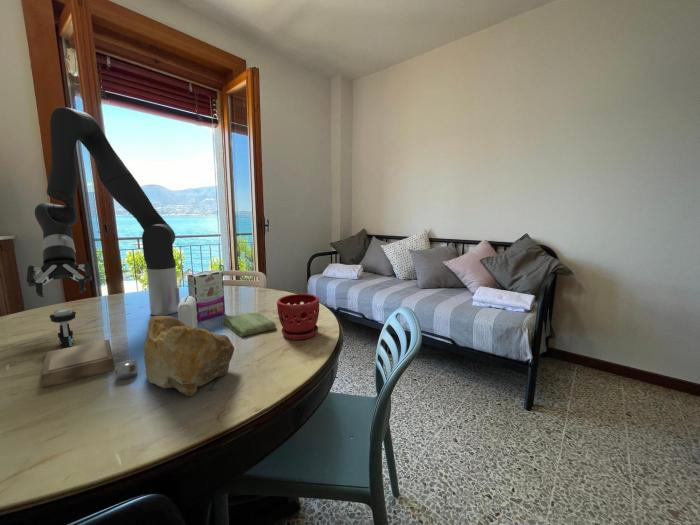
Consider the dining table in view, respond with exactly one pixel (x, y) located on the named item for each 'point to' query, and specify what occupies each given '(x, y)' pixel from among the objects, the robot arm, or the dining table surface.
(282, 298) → the plant pot
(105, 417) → the dining table surface
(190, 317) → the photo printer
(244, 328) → the washcloth
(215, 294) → the candy bar box
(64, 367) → the tray
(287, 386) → the dining table surface
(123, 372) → the cylinder
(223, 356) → the rough brown rock
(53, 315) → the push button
